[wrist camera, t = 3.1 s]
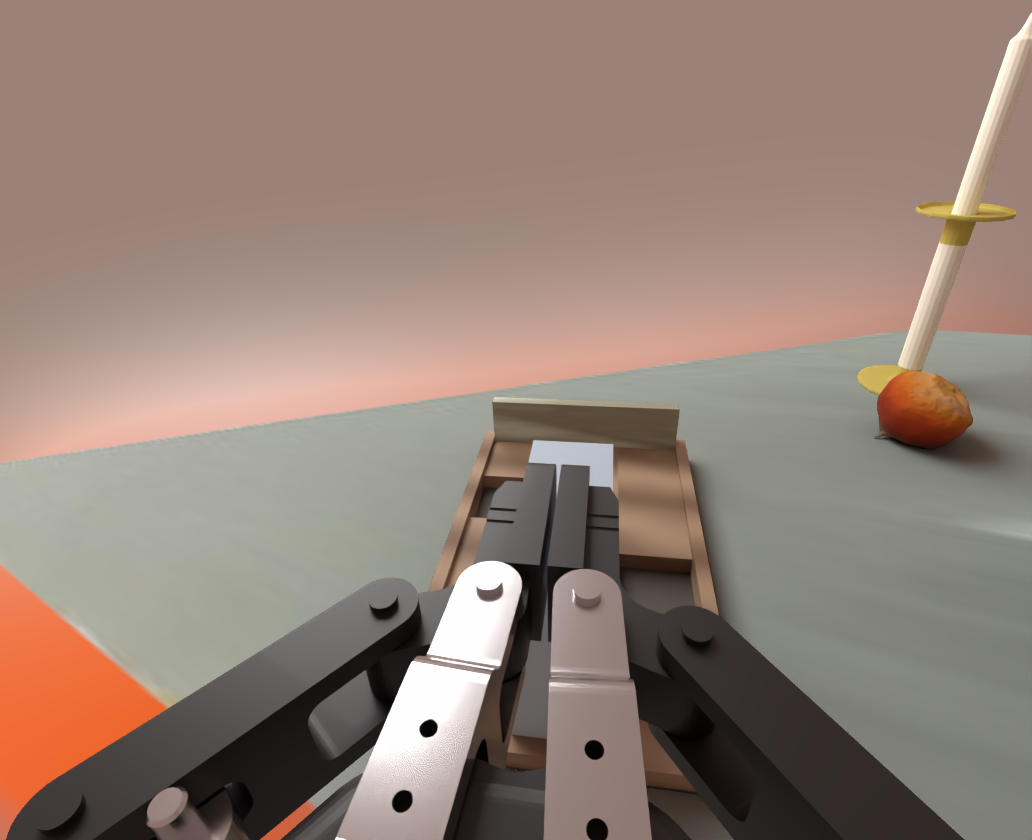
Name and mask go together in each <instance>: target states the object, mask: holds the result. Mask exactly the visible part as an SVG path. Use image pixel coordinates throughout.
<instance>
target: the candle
mask: <svg viewBox="0 0 1032 840" xmlns="http://www.w3.org/2000/svg"><path fill="white" fill-rule="evenodd" d="M1031 62H1032V13H1031V15H1030V16H1029V18H1028V20H1027V22H1026V23H1025V25H1024V27H1023V28H1022V29H1021V30H1020V32H1019V33H1018V34H1017V35H1016V36H1015V37H1014V38H1013V39H1011V40H1010V42H1009V45H1008V48H1007V51H1006V54H1005V57H1004V60H1003V63H1002V66H1001V69H1000V72H999V75H998V78H997V81H996V84H995V87H994V89H993V92H992V95H991V98H990V101H989V104H988V107H987V110H986V113H985V116H984V119H983V122H982V125H981V128H980V131H979V133H978V136H977V139H976V142H975V145H974V148H973V151H972V154H971V157H970V160H969V163H968V166H967V169H966V172H965V175H964V178H963V181H962V183H961V187H960V189H959V192H958V195H957V198H956V201H955V202H930V203H924V204H920V205H918V206H917V208H916V211H918V212H919V213H920V214H923V215H926V216H930V217H935V218H941V219H947V221H946V224H945V227H944V230H943V233H942V236H941V239H940V242H939V245H938V248H937V251H936V254H935V256H934V260H933V262H932V265H931V268H930V271H929V274H928V277H927V280H926V283H925V286H924V289H923V292H922V295H921V298H920V301H919V304H918V307H917V310H916V313H915V316H914V318H913V322H912V324H911V328H910V330H909V333H908V336H907V339H906V342H905V345H904V348H903V351H902V354H901V357H900V360H899V363H898V366H893V365H879V366H871V367H868V368H865V369H862V370H861V371H860V373H859V374H858V376H857V378H858V380H859V383H860V384H861V385H862V386H863V387H865V388H866V389H867V390H869V391H870V392H873V393H875V394H878V395H880V393H881V392H882V390H883V389H884V388H885V387H886V385H887V384H888V382H889V381H890V380H891V379H892V378H894V377H895V376H897V375H899V374H900V373H903V372H905V371H911V370H915V371H919V372H924V373H927V372H925V371H922V368H923V366H924V363H925V360H926V357H927V355H928V352H929V349H930V346H931V344H932V341H933V338H934V335H935V333H936V330H937V327H938V324H939V322H940V319H941V316H942V313H943V311H944V308H945V305H946V302H947V299H948V297H949V294H950V291H951V289H952V286H953V283H954V280H955V277H956V275H957V272H958V269H959V267H960V264H961V261H962V258H963V256H964V253H965V250H966V248H967V245H968V242H969V239H970V236H971V234H972V231H973V228H974V226H975V223H976V222H992V221H1004V220H1009V219H1013V218H1014V217H1015V216H1016V213H1017V211H1015V210H1013V209H1011V208H1007V207H1002V206H997V205H990V204H982V203H981V200H982V197H983V194H984V192H985V188H986V186H987V183H988V180H989V178H990V175H991V172H992V169H993V167H994V164H995V161H996V159H997V156H998V153H999V150H1000V148H1001V145H1002V142H1003V139H1004V136H1005V134H1006V131H1007V128H1008V125H1009V123H1010V120H1011V117H1012V114H1013V111H1014V109H1015V106H1016V103H1017V101H1018V98H1019V95H1020V92H1021V90H1022V87H1023V84H1024V81H1025V79H1026V76H1027V73H1028V70H1029V67H1030V65H1031ZM929 374H930V373H929Z"/></svg>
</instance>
